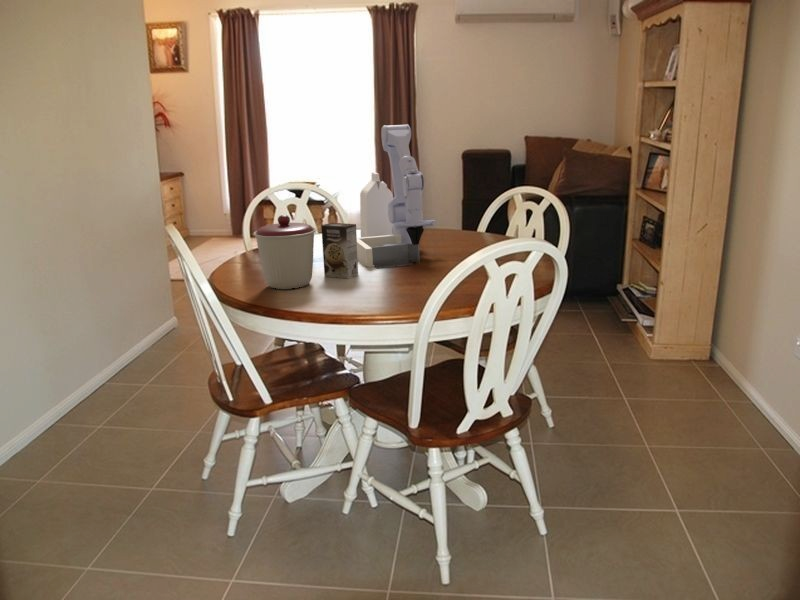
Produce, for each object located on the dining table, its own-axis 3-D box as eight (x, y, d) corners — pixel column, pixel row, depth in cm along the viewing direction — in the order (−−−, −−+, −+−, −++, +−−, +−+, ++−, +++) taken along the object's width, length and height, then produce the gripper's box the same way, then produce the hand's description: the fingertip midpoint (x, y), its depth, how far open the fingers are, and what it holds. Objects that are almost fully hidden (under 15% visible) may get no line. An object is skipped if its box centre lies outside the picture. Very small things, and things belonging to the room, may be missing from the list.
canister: (246, 287, 211) (239, 217, 206) (293, 275, 224) (288, 208, 219) (284, 296, 200) (277, 222, 194) (332, 283, 212) (327, 213, 207)
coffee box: (323, 276, 221) (320, 225, 217) (334, 272, 227) (331, 222, 222) (348, 279, 217) (345, 226, 213) (359, 274, 222) (356, 223, 218)
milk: (360, 239, 282) (357, 172, 275) (388, 236, 284) (385, 170, 277) (367, 244, 270) (363, 175, 263) (396, 241, 273) (393, 173, 266)
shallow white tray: (352, 254, 252) (351, 237, 251) (401, 250, 257) (400, 233, 255) (367, 267, 232) (366, 249, 230) (419, 262, 236) (418, 244, 235)
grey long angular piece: (371, 265, 234) (370, 247, 233) (417, 260, 238) (416, 242, 237) (375, 268, 229) (374, 250, 227) (422, 263, 233) (421, 245, 231)
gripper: (396, 212, 237) (398, 252, 241) (438, 209, 241) (439, 248, 244) (391, 209, 244) (392, 248, 247) (431, 206, 247) (432, 245, 251)
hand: (415, 248), depth 246 cm, fingers closed
